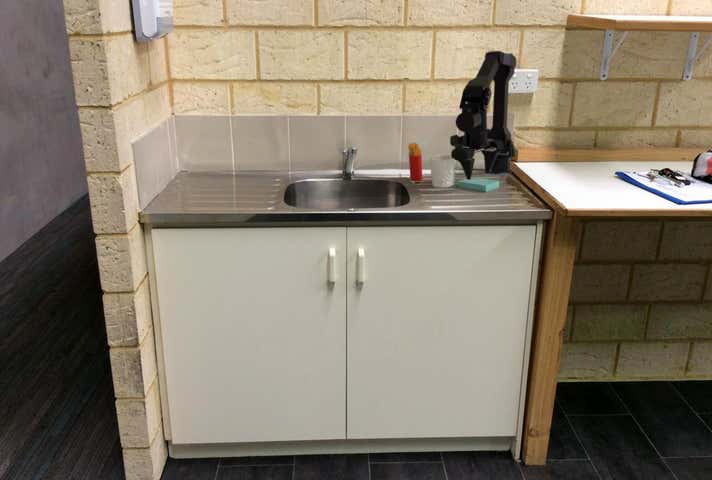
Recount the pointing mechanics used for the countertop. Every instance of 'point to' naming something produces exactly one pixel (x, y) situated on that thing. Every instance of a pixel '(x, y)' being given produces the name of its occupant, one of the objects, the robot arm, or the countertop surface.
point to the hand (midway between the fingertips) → (478, 176)
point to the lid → (478, 184)
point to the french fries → (415, 162)
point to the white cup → (442, 170)
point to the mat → (476, 190)
